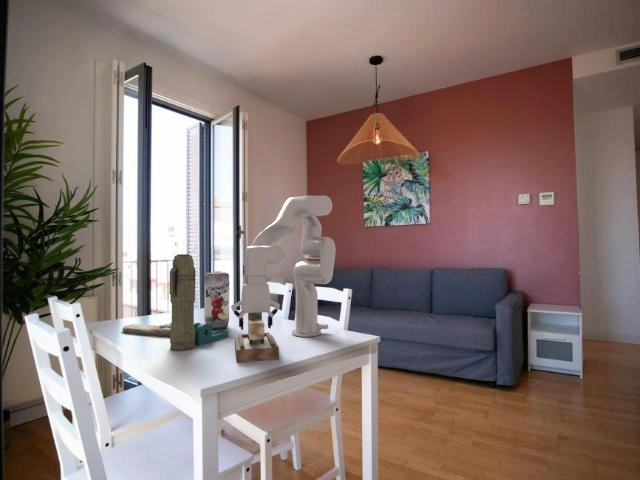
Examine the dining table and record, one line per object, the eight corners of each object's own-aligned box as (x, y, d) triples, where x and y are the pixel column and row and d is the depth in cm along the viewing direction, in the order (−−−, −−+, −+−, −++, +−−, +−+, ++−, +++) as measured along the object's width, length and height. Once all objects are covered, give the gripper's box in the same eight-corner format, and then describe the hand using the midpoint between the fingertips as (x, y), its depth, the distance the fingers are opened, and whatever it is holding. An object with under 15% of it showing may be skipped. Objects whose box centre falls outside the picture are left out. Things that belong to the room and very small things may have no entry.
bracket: (198, 346, 142) (198, 325, 142) (186, 344, 146) (186, 323, 146) (231, 336, 158) (231, 317, 158) (220, 334, 161) (220, 316, 161)
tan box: (261, 337, 138) (261, 310, 138) (264, 344, 129) (264, 315, 129) (247, 338, 137) (248, 311, 137) (249, 345, 127) (249, 316, 127)
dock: (271, 345, 143) (272, 331, 143) (278, 359, 126) (278, 343, 126) (234, 347, 140) (234, 333, 140) (236, 362, 122) (236, 346, 122)
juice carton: (203, 327, 174) (204, 269, 175) (226, 325, 179) (226, 269, 179) (206, 331, 166) (206, 270, 167) (230, 329, 171) (230, 270, 171)
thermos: (161, 351, 135) (162, 254, 136) (182, 342, 147) (182, 254, 147) (182, 353, 133) (183, 254, 133) (201, 344, 144) (202, 254, 145)
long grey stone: (133, 332, 171) (116, 338, 161) (132, 320, 171) (115, 326, 161) (200, 332, 163) (187, 339, 153) (199, 320, 162) (186, 326, 153)
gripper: (278, 279, 139) (278, 325, 139) (230, 280, 135) (230, 327, 134) (281, 280, 132) (281, 329, 131) (231, 282, 127) (231, 332, 127)
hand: (255, 328), depth 133 cm, fingers open, 9 cm apart
